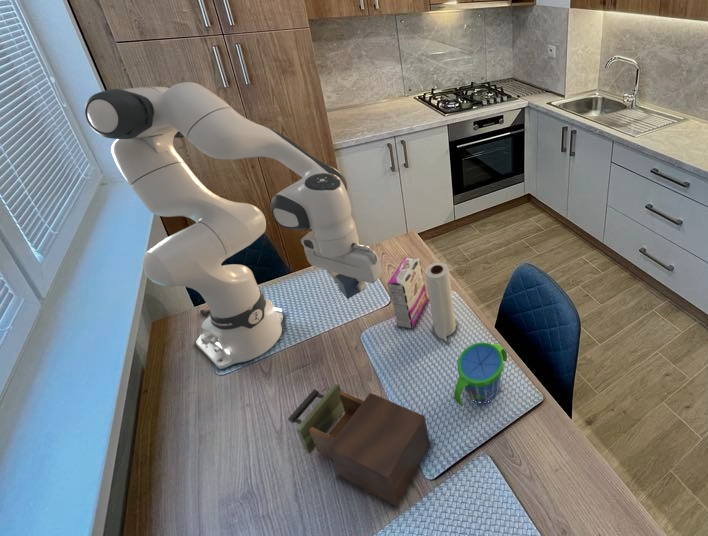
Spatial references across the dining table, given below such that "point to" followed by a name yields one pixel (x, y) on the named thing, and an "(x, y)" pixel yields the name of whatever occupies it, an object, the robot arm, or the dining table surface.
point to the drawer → (324, 418)
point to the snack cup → (480, 372)
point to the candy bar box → (407, 292)
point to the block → (347, 285)
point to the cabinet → (381, 448)
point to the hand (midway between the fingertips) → (350, 285)
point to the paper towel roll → (440, 299)
